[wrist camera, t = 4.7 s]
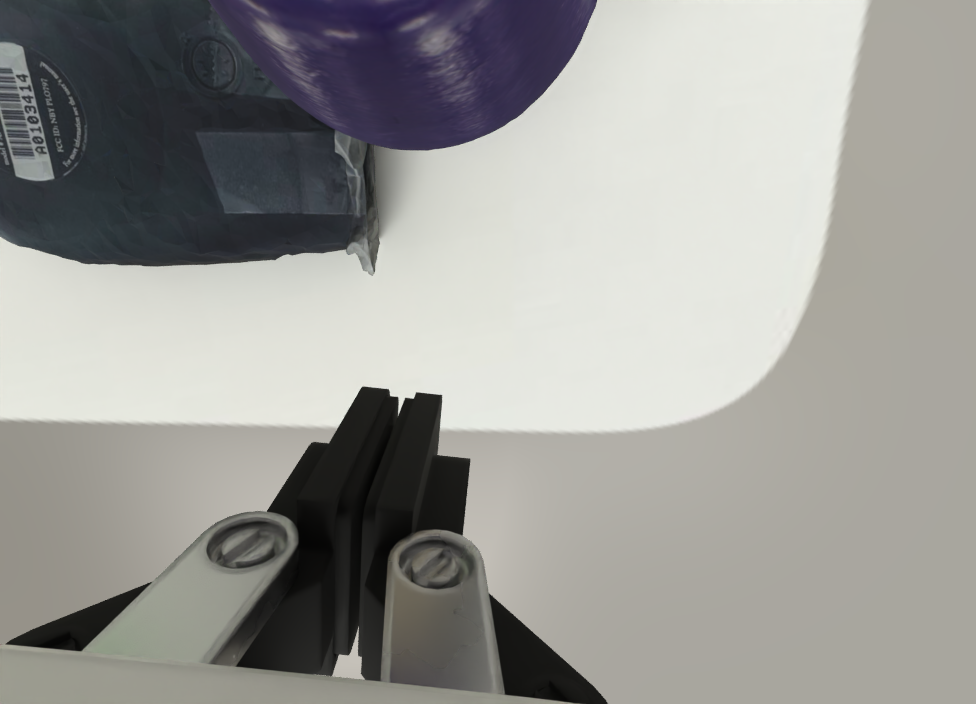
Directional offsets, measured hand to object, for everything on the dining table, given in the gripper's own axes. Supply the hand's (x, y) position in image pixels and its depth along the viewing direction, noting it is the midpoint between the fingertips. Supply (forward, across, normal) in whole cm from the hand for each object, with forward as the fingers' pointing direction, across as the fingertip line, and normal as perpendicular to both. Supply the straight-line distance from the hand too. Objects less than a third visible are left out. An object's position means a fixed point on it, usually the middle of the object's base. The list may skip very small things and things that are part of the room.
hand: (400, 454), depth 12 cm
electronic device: (+11, +10, -6) cm, 16 cm away
